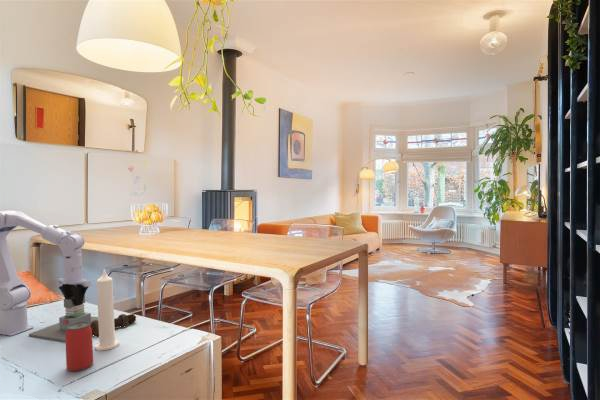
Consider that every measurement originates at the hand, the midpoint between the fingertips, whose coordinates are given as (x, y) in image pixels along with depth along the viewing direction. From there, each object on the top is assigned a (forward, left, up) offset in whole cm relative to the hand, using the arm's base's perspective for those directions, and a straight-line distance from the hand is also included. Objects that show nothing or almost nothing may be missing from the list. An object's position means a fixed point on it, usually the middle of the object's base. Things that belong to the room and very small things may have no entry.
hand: (74, 304), depth 134 cm
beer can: (+28, -21, -9) cm, 36 cm away
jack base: (0, 0, -9) cm, 9 cm away
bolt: (+14, +4, -10) cm, 18 cm away
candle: (+24, -8, -9) cm, 27 cm away
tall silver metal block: (0, 0, -5) cm, 5 cm away
